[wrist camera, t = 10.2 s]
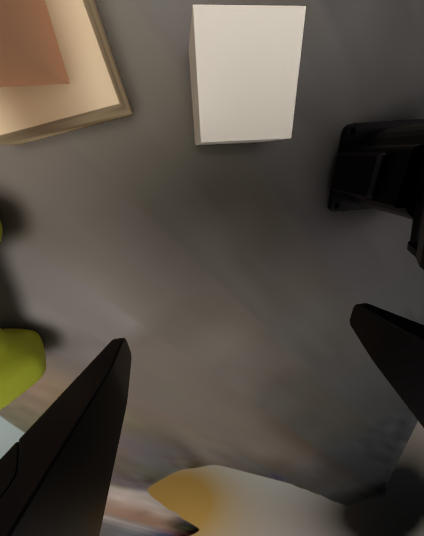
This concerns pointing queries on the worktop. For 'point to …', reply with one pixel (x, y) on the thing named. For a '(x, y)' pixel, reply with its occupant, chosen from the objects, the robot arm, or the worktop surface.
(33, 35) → the terracotta cube
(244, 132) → the offwhite cube
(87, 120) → the oak base block
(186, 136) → the worktop surface
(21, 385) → the dumbbell
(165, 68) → the worktop surface
